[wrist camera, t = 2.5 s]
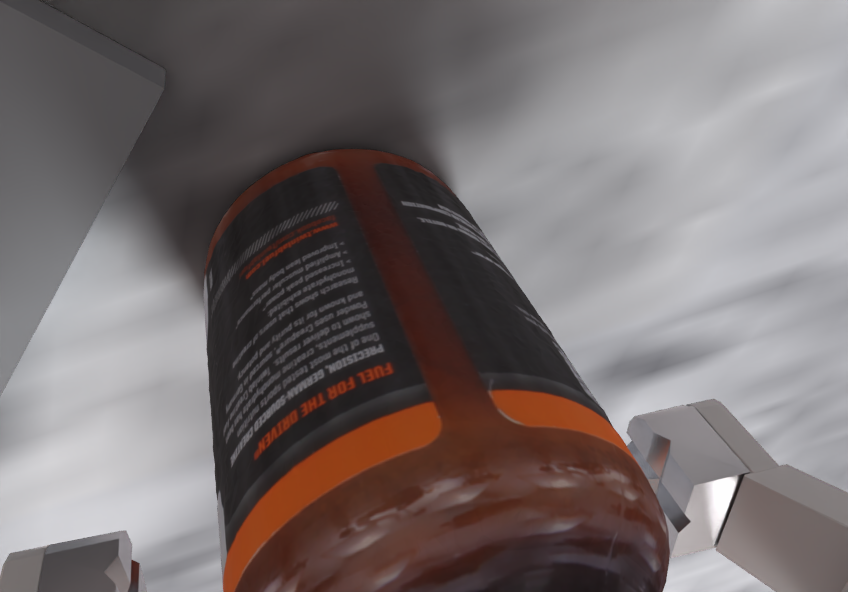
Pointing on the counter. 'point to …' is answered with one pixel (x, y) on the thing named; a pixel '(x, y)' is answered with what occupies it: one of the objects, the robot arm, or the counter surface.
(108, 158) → the build board
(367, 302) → the supplement bottle
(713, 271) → the counter surface
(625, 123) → the counter surface
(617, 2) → the counter surface
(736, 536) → the robot arm
